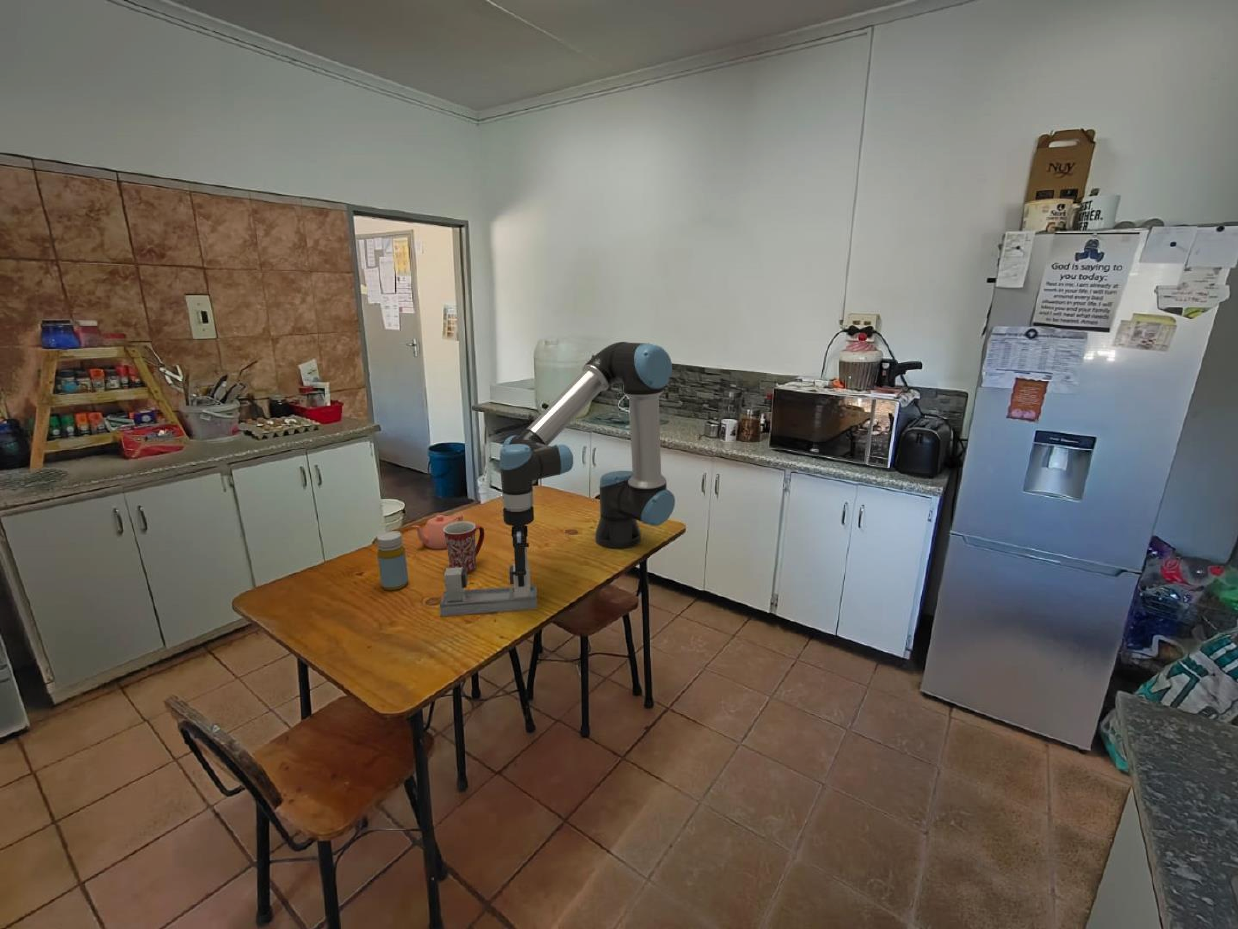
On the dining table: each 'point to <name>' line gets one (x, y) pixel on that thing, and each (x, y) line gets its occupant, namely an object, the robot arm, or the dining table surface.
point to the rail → (480, 597)
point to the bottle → (392, 561)
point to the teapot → (436, 531)
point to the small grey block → (513, 581)
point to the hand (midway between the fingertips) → (522, 583)
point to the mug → (463, 544)
